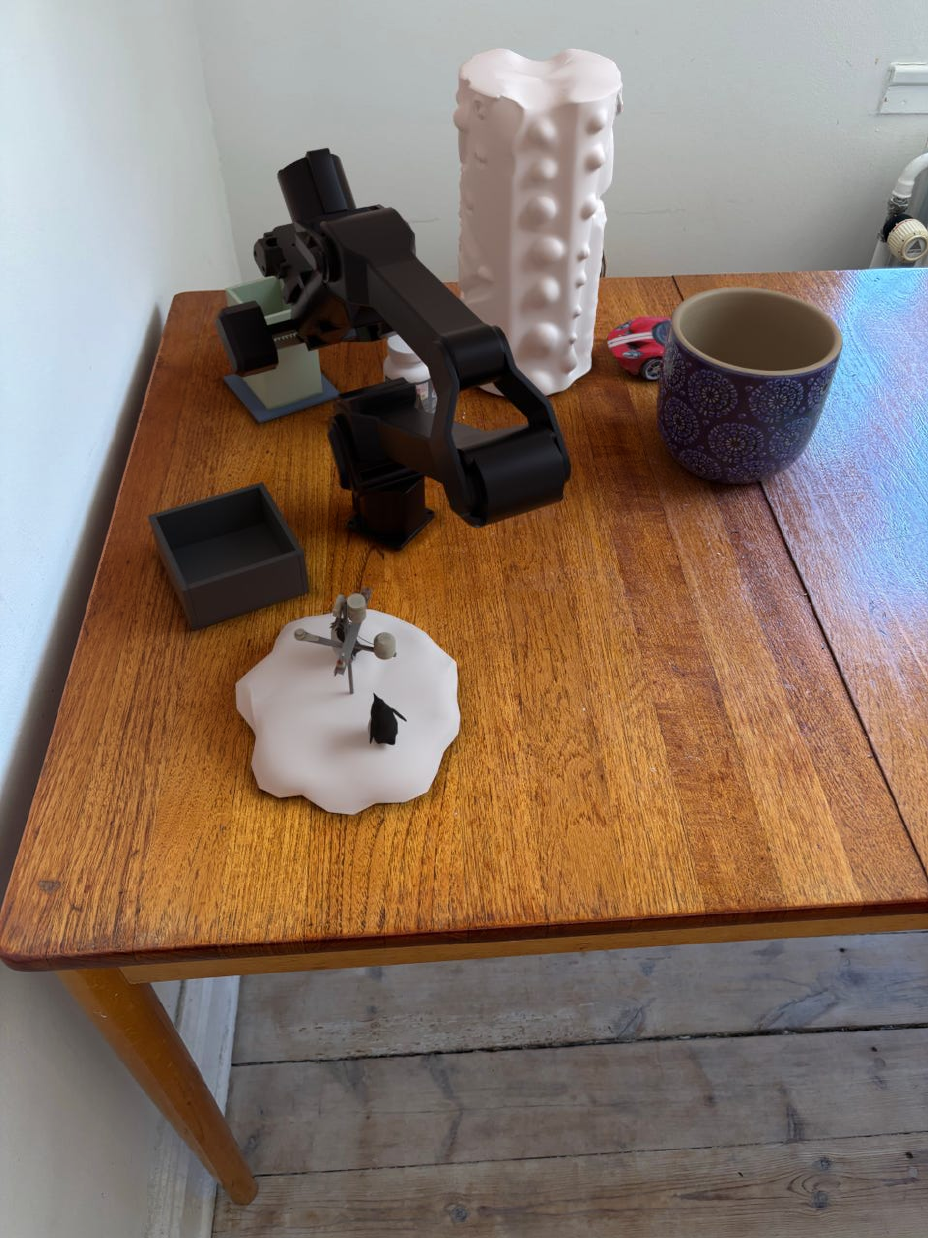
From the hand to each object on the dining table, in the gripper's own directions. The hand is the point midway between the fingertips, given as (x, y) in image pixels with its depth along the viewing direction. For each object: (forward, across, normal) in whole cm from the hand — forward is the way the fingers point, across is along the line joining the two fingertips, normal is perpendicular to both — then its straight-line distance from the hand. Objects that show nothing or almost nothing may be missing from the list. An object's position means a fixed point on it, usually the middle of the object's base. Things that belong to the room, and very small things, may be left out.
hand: (297, 347), depth 105 cm
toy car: (-3, -45, +15) cm, 48 cm away
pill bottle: (+2, -10, +11) cm, 15 cm away
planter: (-14, -36, +26) cm, 47 cm away
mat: (+11, 0, +1) cm, 11 cm away
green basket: (+11, 0, +1) cm, 11 cm away
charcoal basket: (-7, +16, +20) cm, 27 cm away
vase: (+4, -27, +8) cm, 28 cm away
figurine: (-21, +14, +35) cm, 43 cm away
